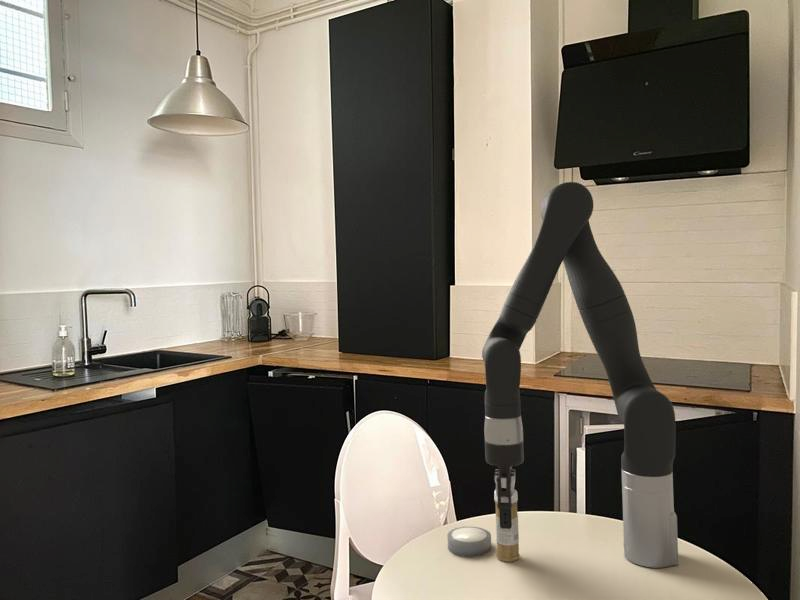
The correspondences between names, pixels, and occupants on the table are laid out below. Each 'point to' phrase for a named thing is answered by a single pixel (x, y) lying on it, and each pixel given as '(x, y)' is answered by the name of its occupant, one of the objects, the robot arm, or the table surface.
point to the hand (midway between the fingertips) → (506, 519)
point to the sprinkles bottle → (507, 532)
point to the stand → (469, 541)
